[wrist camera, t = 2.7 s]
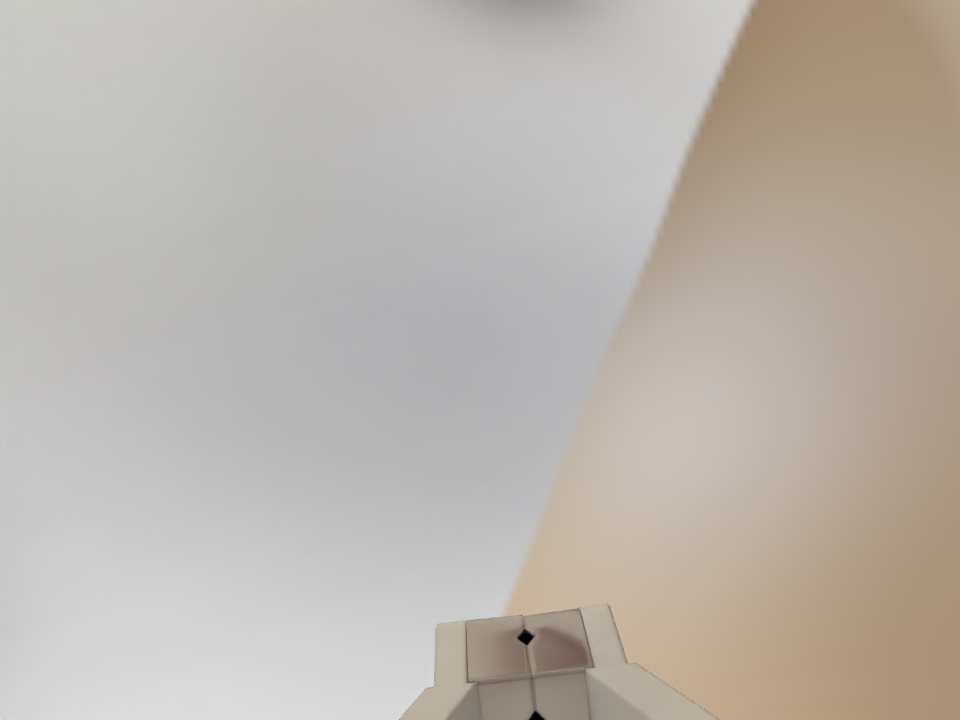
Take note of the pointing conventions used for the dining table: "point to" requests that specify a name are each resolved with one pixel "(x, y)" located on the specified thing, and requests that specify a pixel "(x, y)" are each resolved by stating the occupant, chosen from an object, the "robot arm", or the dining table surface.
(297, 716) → the dining table surface
